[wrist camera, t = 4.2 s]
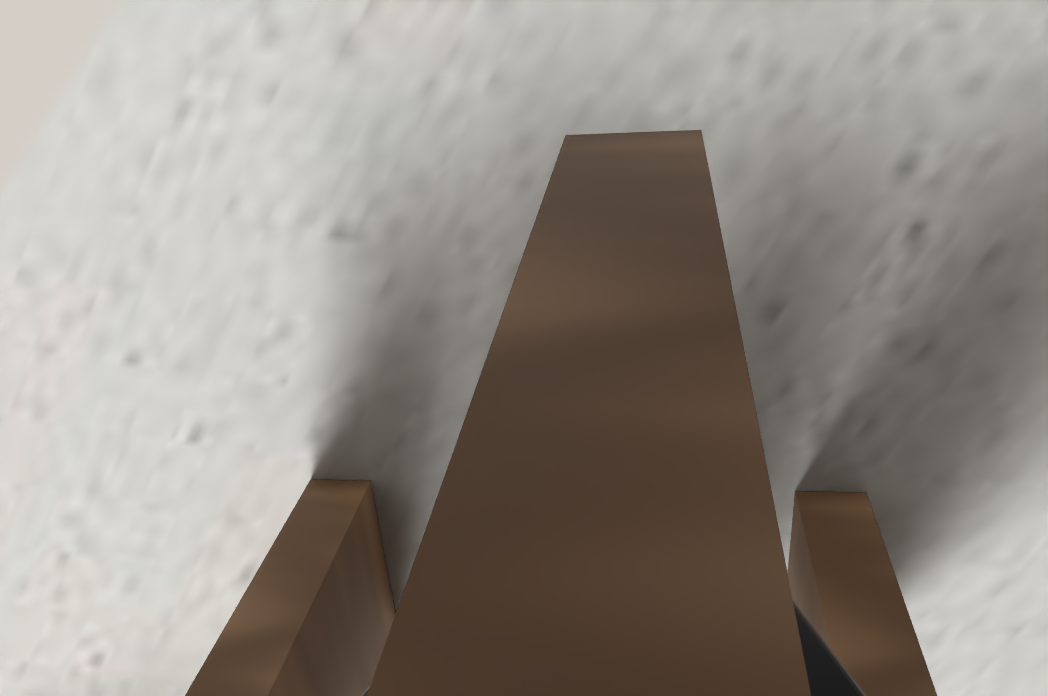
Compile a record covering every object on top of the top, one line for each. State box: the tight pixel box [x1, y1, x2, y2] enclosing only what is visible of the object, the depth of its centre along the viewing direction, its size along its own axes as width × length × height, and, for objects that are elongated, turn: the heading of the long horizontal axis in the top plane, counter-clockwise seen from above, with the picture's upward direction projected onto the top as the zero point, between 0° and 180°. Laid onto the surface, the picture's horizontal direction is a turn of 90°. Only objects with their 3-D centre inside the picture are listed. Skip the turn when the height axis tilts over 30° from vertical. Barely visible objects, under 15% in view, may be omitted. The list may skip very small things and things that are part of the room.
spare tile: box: [367, 130, 811, 696], centre depth 7 cm, size 2×5×10 cm, turn 4°
